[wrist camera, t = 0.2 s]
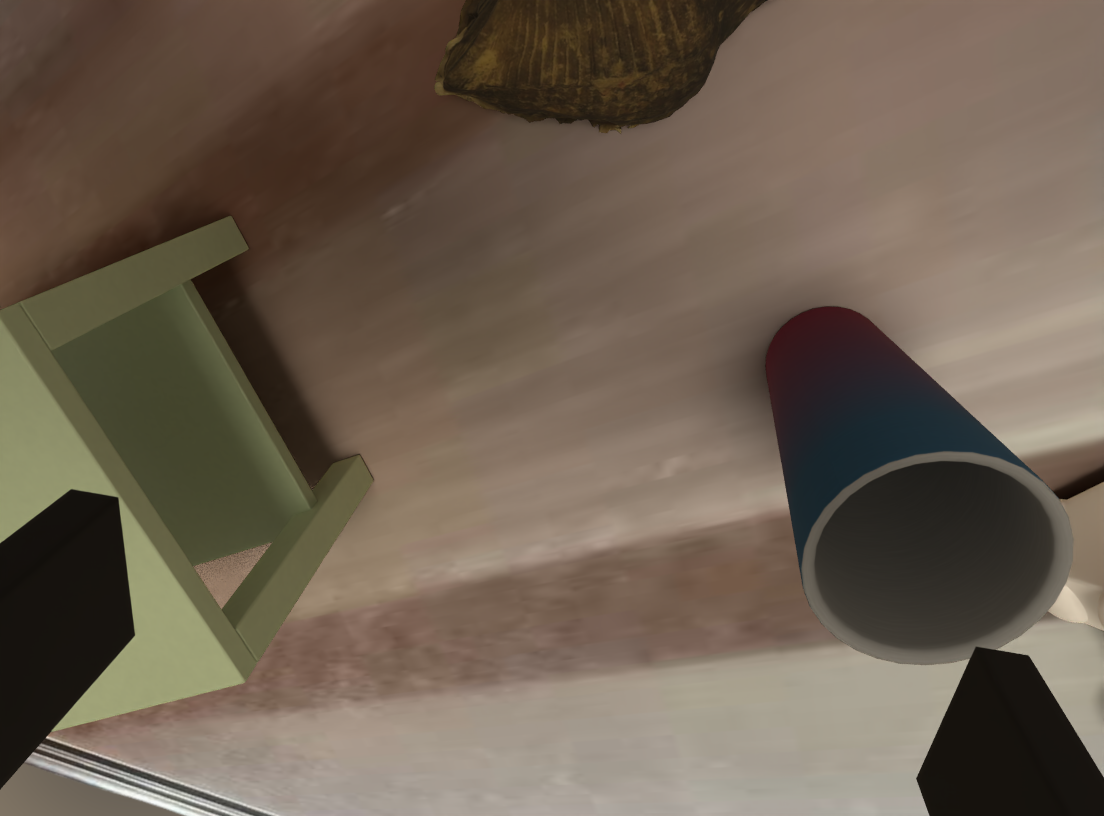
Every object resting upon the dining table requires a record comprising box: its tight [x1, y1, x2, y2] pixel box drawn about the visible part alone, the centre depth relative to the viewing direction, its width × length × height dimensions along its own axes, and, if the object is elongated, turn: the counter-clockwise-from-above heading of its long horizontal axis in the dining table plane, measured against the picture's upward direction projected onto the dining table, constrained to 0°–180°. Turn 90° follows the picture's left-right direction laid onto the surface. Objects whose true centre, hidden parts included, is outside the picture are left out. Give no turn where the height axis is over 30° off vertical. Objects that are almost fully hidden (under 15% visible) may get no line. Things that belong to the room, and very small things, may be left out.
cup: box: [765, 307, 1074, 665], centre depth 28 cm, size 7×7×15 cm
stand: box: [0, 216, 373, 732], centre depth 33 cm, size 14×12×14 cm
